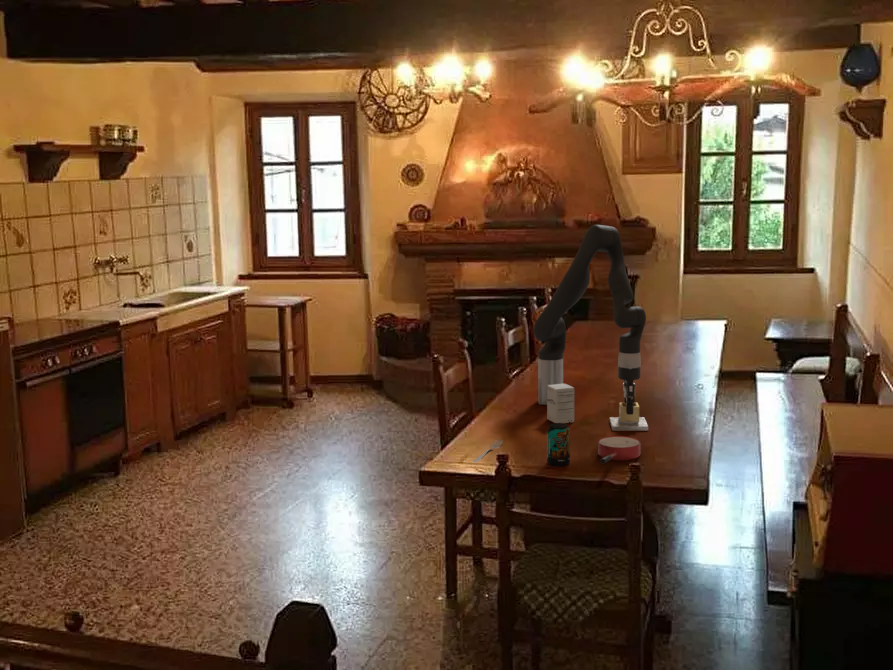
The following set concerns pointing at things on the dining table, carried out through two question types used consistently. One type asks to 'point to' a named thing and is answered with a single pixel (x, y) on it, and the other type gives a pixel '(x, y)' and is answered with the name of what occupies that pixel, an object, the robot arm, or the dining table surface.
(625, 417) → the box
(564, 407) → the supplement box
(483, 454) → the fork
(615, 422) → the shaft stand
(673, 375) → the dining table surface
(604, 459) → the frying pan
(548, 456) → the beverage can
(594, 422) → the dining table surface
